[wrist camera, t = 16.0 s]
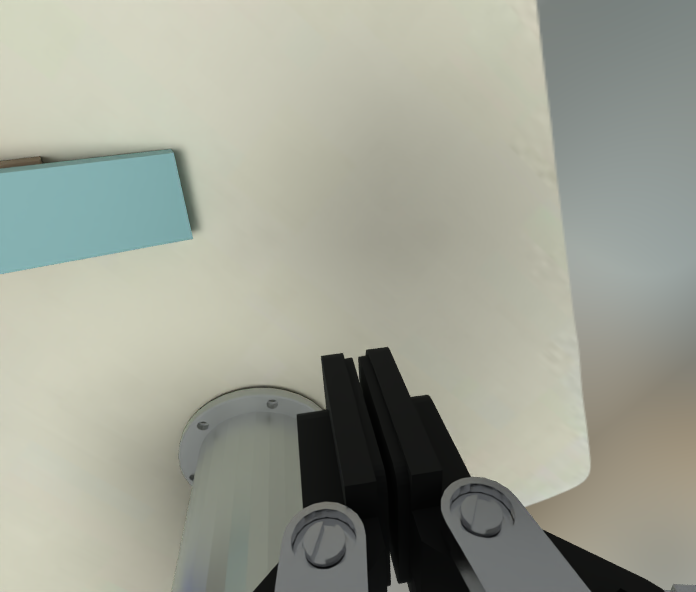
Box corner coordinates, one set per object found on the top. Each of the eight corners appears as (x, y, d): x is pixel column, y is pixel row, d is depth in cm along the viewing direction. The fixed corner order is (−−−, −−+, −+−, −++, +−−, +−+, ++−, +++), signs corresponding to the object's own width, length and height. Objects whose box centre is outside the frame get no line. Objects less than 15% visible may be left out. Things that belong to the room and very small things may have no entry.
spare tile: (193, 238, 27) (-3, 274, 24) (189, 231, 28) (3, 264, 25) (173, 152, 25) (-48, 178, 21) (171, 148, 26) (-37, 172, 22)
